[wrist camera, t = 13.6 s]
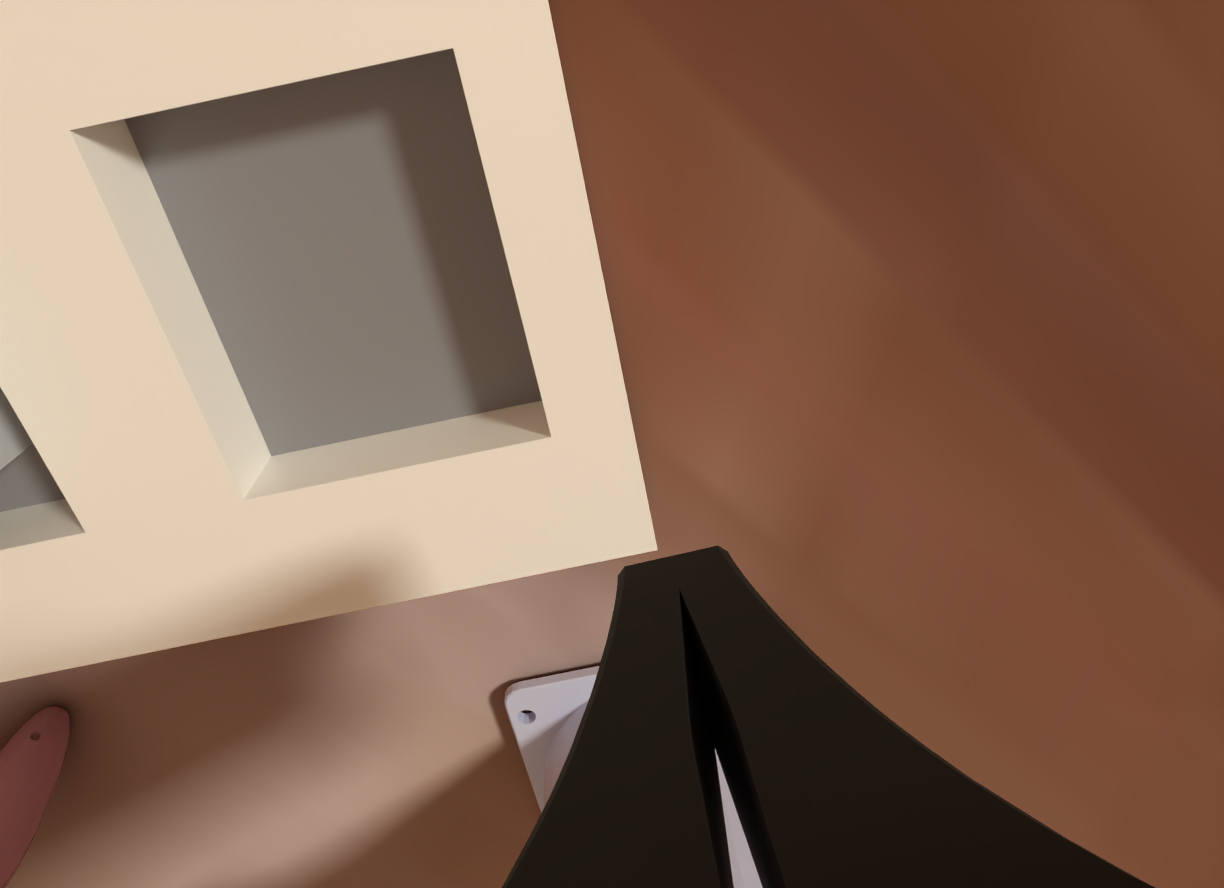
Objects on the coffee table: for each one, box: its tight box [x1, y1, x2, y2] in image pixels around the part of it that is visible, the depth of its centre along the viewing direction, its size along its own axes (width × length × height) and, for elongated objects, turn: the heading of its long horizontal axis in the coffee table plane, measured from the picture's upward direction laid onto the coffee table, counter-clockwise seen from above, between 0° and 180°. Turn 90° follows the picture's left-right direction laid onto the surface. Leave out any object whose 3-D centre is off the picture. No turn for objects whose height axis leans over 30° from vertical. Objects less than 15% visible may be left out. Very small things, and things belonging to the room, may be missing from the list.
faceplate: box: [0, 0, 657, 683], centre depth 17 cm, size 14×20×2 cm
